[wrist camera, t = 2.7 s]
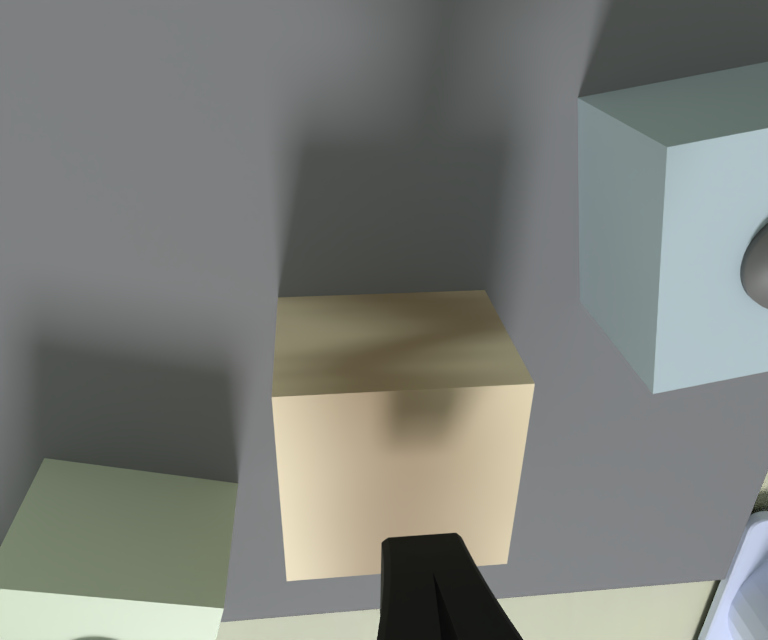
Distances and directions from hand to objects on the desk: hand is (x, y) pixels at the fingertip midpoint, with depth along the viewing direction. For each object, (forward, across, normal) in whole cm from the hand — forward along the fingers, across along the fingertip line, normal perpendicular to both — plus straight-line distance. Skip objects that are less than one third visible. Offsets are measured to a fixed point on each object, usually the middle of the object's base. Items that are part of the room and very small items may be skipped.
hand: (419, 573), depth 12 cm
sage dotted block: (+6, +7, +5) cm, 11 cm away
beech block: (+6, 0, 0) cm, 6 cm away
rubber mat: (+6, 0, 0) cm, 6 cm away
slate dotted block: (+6, -7, -5) cm, 10 cm away
